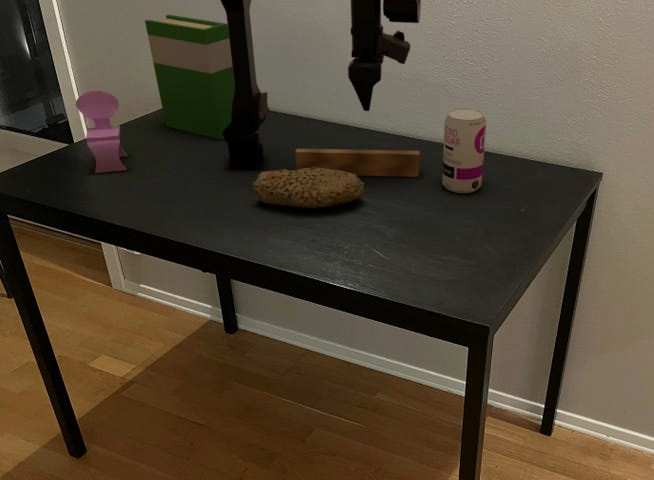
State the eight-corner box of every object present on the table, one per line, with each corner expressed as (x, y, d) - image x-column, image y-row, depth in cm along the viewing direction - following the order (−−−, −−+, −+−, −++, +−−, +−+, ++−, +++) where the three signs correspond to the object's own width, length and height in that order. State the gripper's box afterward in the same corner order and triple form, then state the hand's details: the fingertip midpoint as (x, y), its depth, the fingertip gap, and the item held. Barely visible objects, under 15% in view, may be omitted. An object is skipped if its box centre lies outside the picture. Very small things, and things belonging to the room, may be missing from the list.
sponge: (253, 215, 138) (343, 212, 130) (245, 174, 135) (337, 168, 127) (288, 201, 149) (373, 197, 141) (281, 163, 146) (368, 157, 138)
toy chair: (90, 174, 150) (70, 102, 141) (92, 159, 157) (73, 89, 148) (131, 170, 152) (114, 99, 143) (132, 155, 159) (116, 86, 150)
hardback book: (166, 126, 174) (144, 20, 160) (187, 117, 179) (168, 14, 165) (221, 139, 168) (204, 30, 153) (241, 130, 173) (227, 23, 158)
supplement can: (486, 182, 149) (492, 110, 140) (472, 197, 143) (477, 123, 134) (451, 175, 152) (454, 104, 143) (436, 189, 146) (438, 116, 137)
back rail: (297, 174, 151) (295, 151, 148) (298, 171, 153) (296, 148, 150) (418, 177, 151) (419, 154, 148) (419, 173, 153) (419, 150, 150)
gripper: (407, 33, 128) (406, 119, 138) (408, 11, 143) (407, 90, 153) (346, 31, 128) (349, 118, 138) (353, 10, 143) (355, 89, 152)
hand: (367, 103), depth 145 cm, fingers open, 9 cm apart
